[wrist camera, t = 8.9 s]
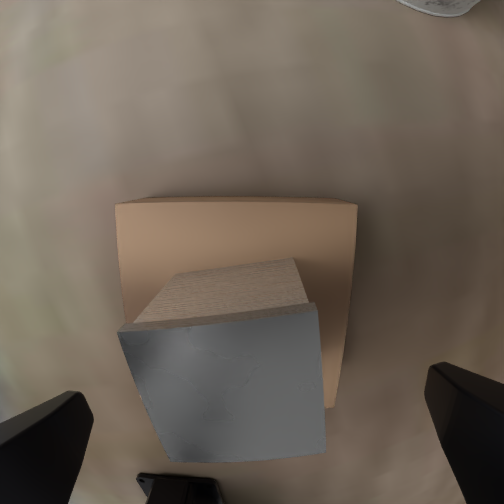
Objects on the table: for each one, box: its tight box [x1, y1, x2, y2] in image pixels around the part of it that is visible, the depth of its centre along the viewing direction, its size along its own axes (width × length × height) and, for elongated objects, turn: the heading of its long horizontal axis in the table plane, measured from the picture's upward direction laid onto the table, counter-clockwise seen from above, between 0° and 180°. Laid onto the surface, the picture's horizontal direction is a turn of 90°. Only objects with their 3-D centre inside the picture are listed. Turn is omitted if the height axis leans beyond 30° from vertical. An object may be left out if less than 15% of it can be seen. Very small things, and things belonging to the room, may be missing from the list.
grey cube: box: [117, 257, 326, 463], centre depth 10 cm, size 5×5×5 cm
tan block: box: [115, 196, 358, 408], centre depth 14 cm, size 9×9×4 cm
